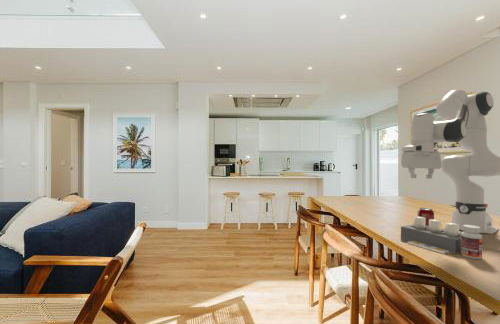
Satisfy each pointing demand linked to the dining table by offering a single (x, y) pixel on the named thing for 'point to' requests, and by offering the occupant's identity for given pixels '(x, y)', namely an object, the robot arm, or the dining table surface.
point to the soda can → (426, 214)
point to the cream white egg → (435, 226)
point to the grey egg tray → (432, 238)
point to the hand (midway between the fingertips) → (421, 178)
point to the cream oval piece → (419, 222)
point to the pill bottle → (471, 242)
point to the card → (428, 247)
